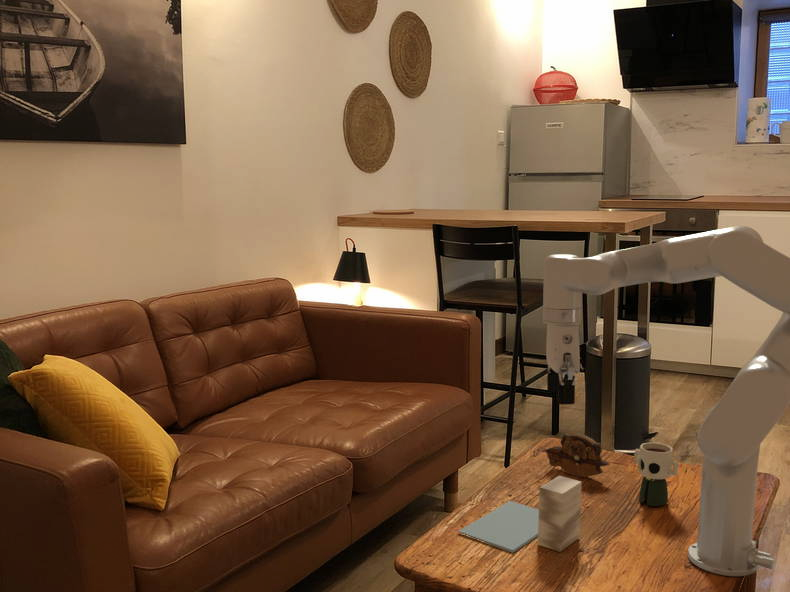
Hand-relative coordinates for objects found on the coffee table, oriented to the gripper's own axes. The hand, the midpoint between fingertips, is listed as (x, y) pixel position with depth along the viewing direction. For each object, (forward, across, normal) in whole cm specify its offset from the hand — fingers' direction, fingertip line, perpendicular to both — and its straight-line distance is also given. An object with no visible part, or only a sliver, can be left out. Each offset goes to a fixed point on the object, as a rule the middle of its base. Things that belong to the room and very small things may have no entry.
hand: (560, 397), depth 168 cm
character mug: (+28, +10, -24) cm, 38 cm away
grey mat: (+27, -1, +10) cm, 29 cm away
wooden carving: (+28, +27, -11) cm, 40 cm away
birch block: (+28, -8, +2) cm, 29 cm away
